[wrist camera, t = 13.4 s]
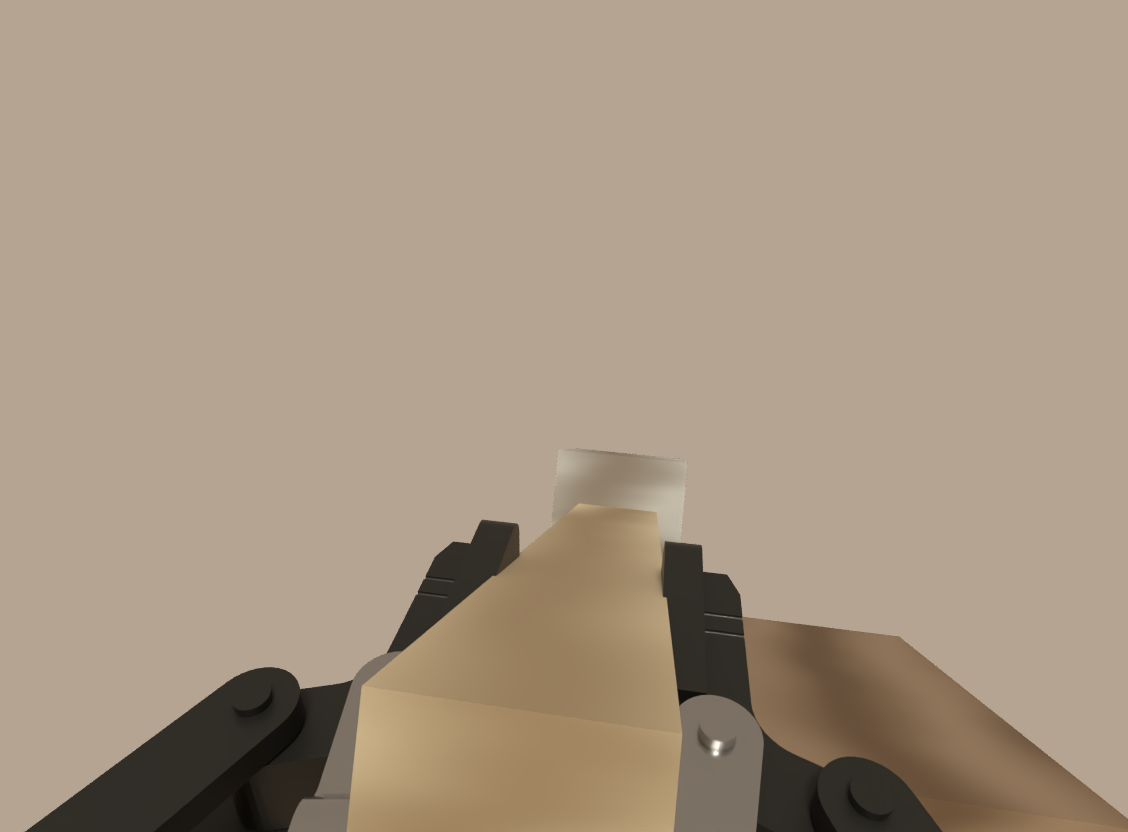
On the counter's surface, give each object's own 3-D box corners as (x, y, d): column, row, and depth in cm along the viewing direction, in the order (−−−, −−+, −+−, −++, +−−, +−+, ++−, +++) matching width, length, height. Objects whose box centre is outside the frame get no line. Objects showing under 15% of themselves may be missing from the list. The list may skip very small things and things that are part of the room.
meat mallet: (669, 562, 33) (679, 458, 33) (768, 1105, 6) (817, 520, 6) (567, 549, 33) (577, 448, 33) (228, 988, 6) (285, 464, 7)
